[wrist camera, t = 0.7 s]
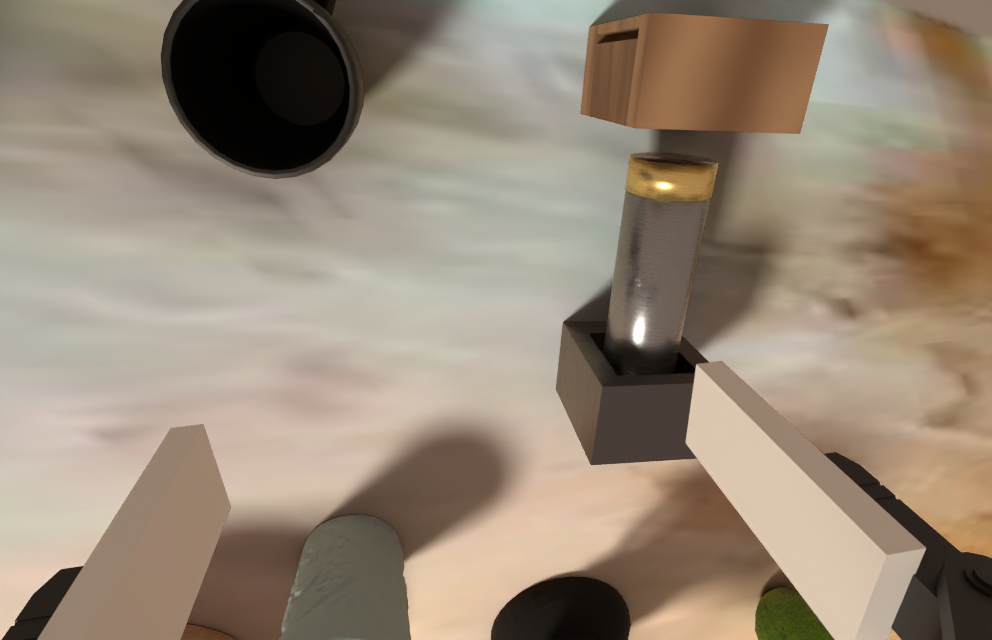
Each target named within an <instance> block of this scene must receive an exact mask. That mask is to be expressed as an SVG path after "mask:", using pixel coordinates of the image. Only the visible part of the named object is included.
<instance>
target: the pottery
mask: <svg viewBox="0 0 992 640" xmlns="http://www.w3.org/2000/svg"><path fill="white" fill-rule="evenodd" d="M180 640H235V639H233V638H232V637H230V636H229V635H227V634H225V633H222V632H218V631H215V630H211V629H208V628H205V627H201V626H198V625H188V624H186V626H185V629H184V632H183V634H182V637H181V639H180Z"/></svg>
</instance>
